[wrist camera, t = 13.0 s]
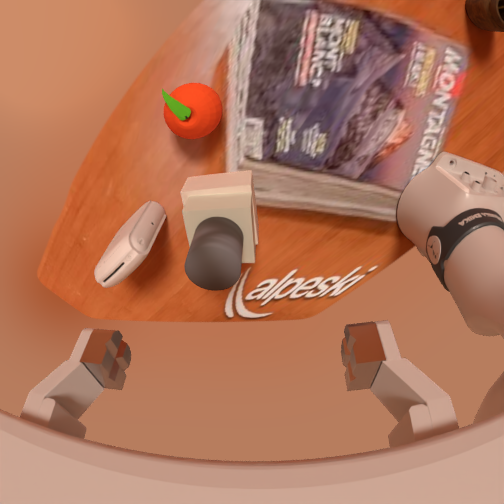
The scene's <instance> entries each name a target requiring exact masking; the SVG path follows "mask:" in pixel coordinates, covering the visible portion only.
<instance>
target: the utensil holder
mask: <svg viewBox="0 0 504 504" xmlns="http://www.w3.org/2000/svg"><path fill="white" fill-rule="evenodd" d="M466 10H467V13H468V16H469V18H470V19H471V21H472V22H473V23H474V24H475V25H476V26H477V27H479V28H481V29H483V30H488V31H496V32H504V0H467V1H466Z"/></svg>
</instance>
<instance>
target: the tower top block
mask: <svg viewBox="0 0 504 504" xmlns="http://www.w3.org/2000/svg"><path fill="white" fill-rule="evenodd" d="M182 213H183V218H184V223H185V228H186V232H187V237H188V241H189V246H190V245H191V242H192V239H193V236H194V233H195V230H196V228H197V226H198V225H199V224H200V223H201V222H202V221H203V220H205V219H207V218H210V217H225V218H228V219H230V220H232V221H234V222H235V223H236V224H237V225H238V226H239V227H240V228H241V230H242V232H243V236H244V241H243V252H242V263H255V249H256V242H255V229H254V216H253V203H252V192H241V193H224V194H208V195H194V196H189V197H188V199H187V201H186V204H185V206H184V208H183V210H182Z"/></svg>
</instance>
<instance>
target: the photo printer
mask: <svg viewBox="0 0 504 504" xmlns="http://www.w3.org/2000/svg"><path fill="white" fill-rule="evenodd" d="M165 218H166V214H165V211H164V208H163V207H162V206H161V205H160V204H159V203H157V202H154V201H148V202H147V203H145V204H144V205H143V206H142V207H141V208H139V209H138V210H137V211H136V212H135V213H134V214H133V215H132V216H131V217H130V218H129V219H128V220H127V222H126V223H125V224H124V225H123V226H122V227H121V228H120V229H119V231H118V232H117V234H116V235H115V237H114V238H113V240H112V241H111V243H110V244H109V246H108V248H107V249H106V251H105V253H104V254H103V256H102V258H101V259H100V261H99V263H98V264H97V266H96V269H95V279H96V281H97V282H98V283H100V284H101V285H102V286H103V287H105V288H108V287H112V286H115V285H117V284H119V283H120V282H122V281H123V280H124V279H125V278H127V277H128V276H129V275H130V274H131V273H132V272H133V271H134V270H135V269H136V268H137V267H138V266H139V265H140V264H141V263H142V262H143V261H144V259H145V258H146V257H147V255H148V253H149V252H150V249H151V247H152V245H153V243H154V241H155V239H156V237H157V235H158V232H159V230H160V228H161V226H162V224H163V222H164V220H165Z"/></svg>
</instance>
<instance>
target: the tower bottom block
mask: <svg viewBox="0 0 504 504" xmlns="http://www.w3.org/2000/svg"><path fill="white" fill-rule="evenodd" d="M241 192H252V203H253V216H254V229H255V242H256V244H258V217H257V209H256V201H255V192H254V184H253V175H252V170H250V171H239V172H230V173H220V174H211V175H203V176H195V177H188V178H187V180H186V182H185V184H184V186H183V188H182V190H181V192H180V193H181V197H182V201H183V205H184V206H185V204H186V201H187V199H188V197H189V196H194V195H208V194H224V193H241Z"/></svg>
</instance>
